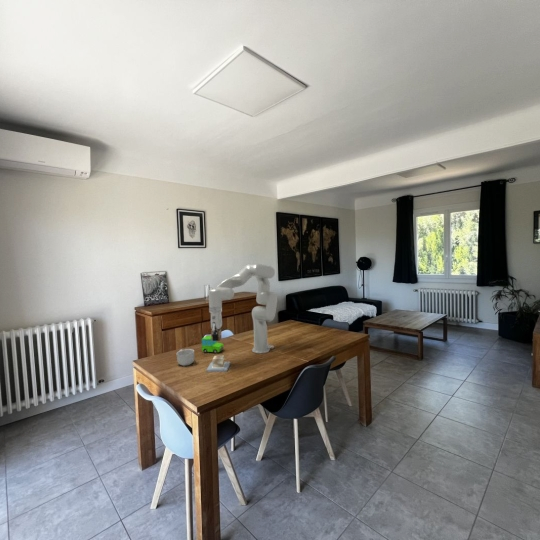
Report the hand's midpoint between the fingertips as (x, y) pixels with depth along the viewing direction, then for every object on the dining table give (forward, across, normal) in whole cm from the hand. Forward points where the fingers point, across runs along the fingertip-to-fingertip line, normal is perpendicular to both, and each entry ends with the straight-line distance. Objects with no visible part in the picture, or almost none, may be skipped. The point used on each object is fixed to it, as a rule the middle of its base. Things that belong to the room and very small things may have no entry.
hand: (216, 338), depth 170 cm
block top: (+1, 0, 0) cm, 1 cm away
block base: (+16, -1, -1) cm, 16 cm away
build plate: (+17, -1, -1) cm, 17 cm away
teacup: (+18, +6, +22) cm, 29 cm away
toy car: (+18, +29, +10) cm, 35 cm away
